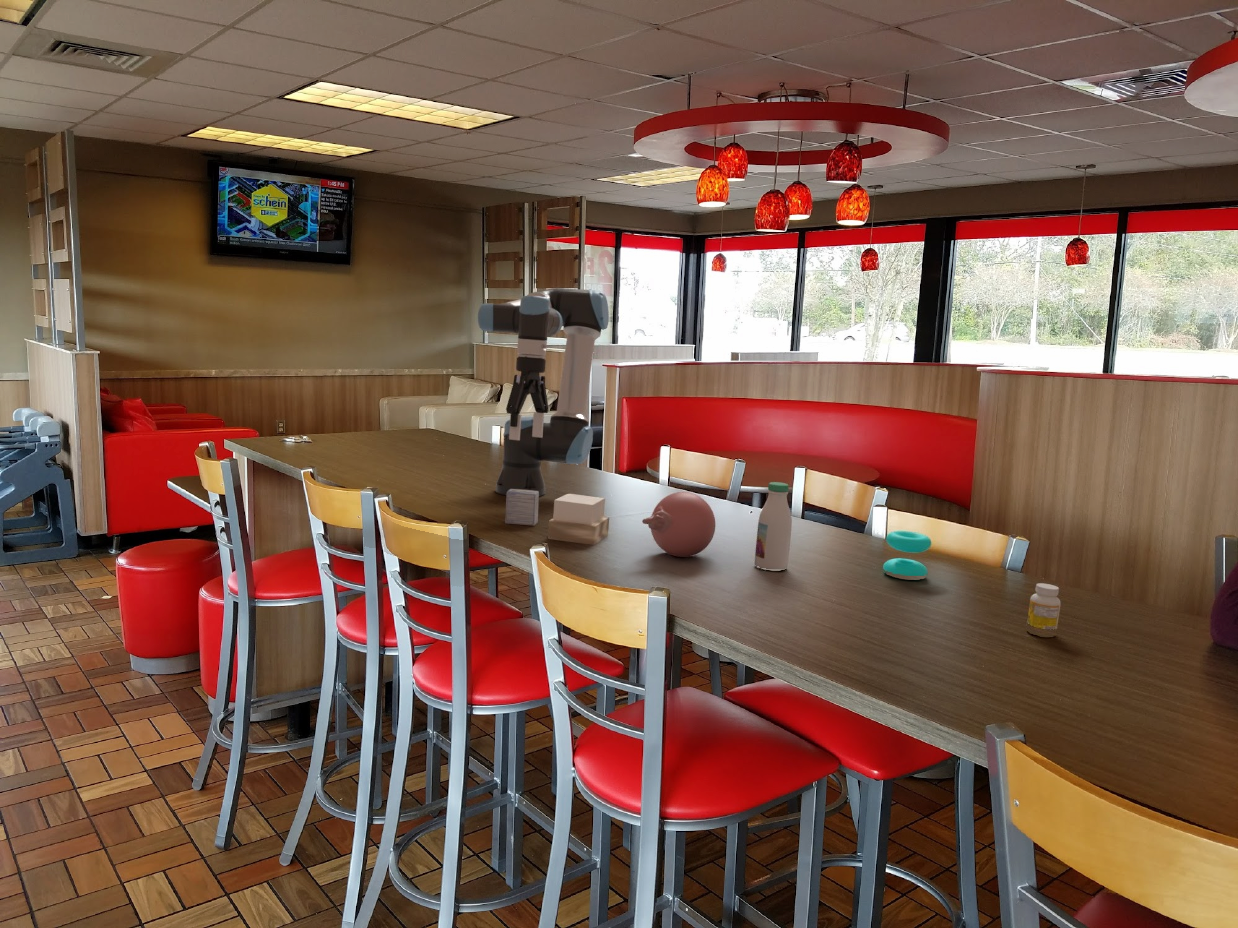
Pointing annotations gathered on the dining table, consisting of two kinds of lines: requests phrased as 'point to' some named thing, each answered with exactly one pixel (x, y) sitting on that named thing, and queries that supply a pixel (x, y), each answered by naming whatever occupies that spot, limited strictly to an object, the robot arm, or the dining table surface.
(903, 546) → the donuts
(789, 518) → the milk bottle
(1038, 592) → the supplement bottle
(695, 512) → the round balloon
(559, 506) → the off-white top block
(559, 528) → the birch base block
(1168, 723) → the dining table surface
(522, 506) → the medicine box
